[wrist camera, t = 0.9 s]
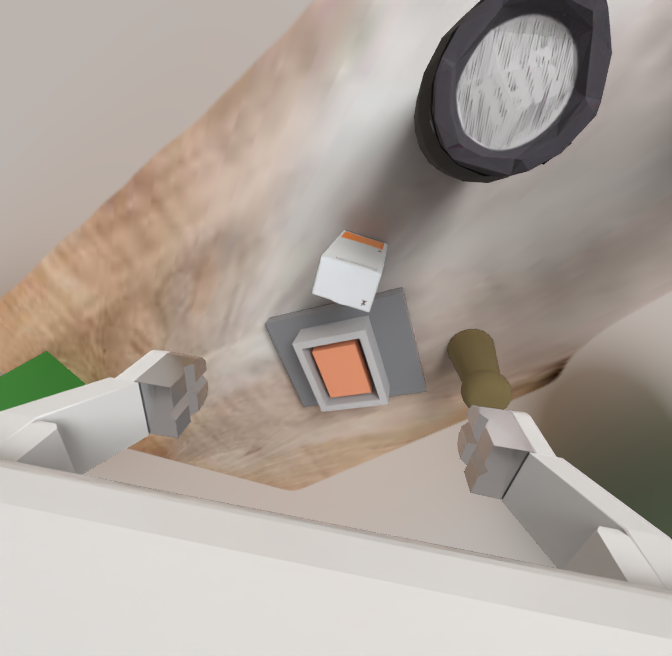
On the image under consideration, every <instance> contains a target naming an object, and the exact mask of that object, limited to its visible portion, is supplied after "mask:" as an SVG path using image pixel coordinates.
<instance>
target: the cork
mask: <svg viewBox="0 0 672 656" xmlns="http://www.w3.org/2000/svg"><path fill="white" fill-rule="evenodd" d="M448 354H449V357H450V359H451V361H452V363H453V365H454V367H455V369H456V371H457V373H458V375H459V377H460V379H461V381H462V386H461V395H462V398H463V401H464V402H465V404H466V405H467V406H468V407H469V408H470V407H471V406H472V405H477V406H483V407H489V408H495V409H501V410H504V409H505V408H506V407H507V406H508V405H509V403H510V401H511V398H512V390H511V386H510V384H509V382H508V381H507V380H506V378H505V377H504V376H503V375H501V374H500V371H499V366H498V361H497V356H496V352H495V347H494V343H493V339H492V338H491V337H490V335H489V334H487V333H485V332H484V331H481V330H477V329H468V330H464V331H461V332H459V333H458V334H456V335H455V336H454V337H453V338H452V339H451V340H450V342H449V344H448Z"/></svg>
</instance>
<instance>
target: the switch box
mask: <svg viewBox="0 0 672 656" xmlns="http://www.w3.org/2000/svg"><path fill="white" fill-rule="evenodd" d="M265 325H266V327H267V330H268V332H269V334H270V336H271V338H272V340H273V342H274V345H275V347H276V349H277V351H278V353H279V355H280V357H281V360H282V362H283V364H284V366H285V368H286V370H287V372H288V374H289V377H290V379H291V381H292V383H293V385H294V387H295V389H296V392H297V394H298V396H299V398H300V400H301V402H302V404H303V407H306V406H315V405H319V406H320V409H321V411H322V412H325V411H334V410H343V409H351V408H360V407H369V406H378V405H386V404H389V396H397V395H405V394H413V393H421V392H426V383H425V379H424V374H423V370H422V366H421V362H420V358H419V354H418V349H417V345H416V341H415V337H414V333H413V329H412V325H411V320H410V316H409V312H408V308H407V304H406V300H405V295H404V291H403V288H398V289H394V290H389V291H385V292H381V293H376V294H375V297H374V300H373V303H372V306H371V309H370V312H365V311H362V310H359V309H356V308H353V307H349V306H346V305H341V304H339V303H332V304H328V305H324V306H319V307H315V308H311V309H306V310H302V311H297V312H293V313H289V314H284V315H280V316H275V317H271V318H269V320H268V321H267V322H266V323H265ZM353 339H358V342H359V345H360V348H361V351H362V354H363V357H364V360H365V363H366V366H367V369H368V372H369V375H370V378H371V381H372V389H371V393H363V394H355V395H348V396H340V397H332V398H331V397H330V394H329V392H328V389H327V387H326V385H325V382H324V380H323V377H322V375H321V372H320V370H319V368H318V365H317V363H316V360H315V358H314V355H313V353H312V351H313V349H314V347H315V346H321V345H326V344H332V343H337V342H342V341H348V340H353Z"/></svg>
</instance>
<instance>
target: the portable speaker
mask: <svg viewBox="0 0 672 656" xmlns="http://www.w3.org/2000/svg"><path fill="white" fill-rule="evenodd" d="M611 55H612V49H611V36H610V24H609V12H608V5H607V1H606V0H480V1H479V2H478V3H477V4H476V5H475V6H474V7H473V8H472V9H471V10H470V11H469V12H468V13H466V14H465V15H464V16H463V17H462V18H461V19H460V20H459V21H458V22H457V23H456V24H455V25H454V26H453V27H452V28H451V29H450V30H449V31H448V32H447V33H446V34H445V35H444V37H443V38H442V39H441V41H440V43H439V45H438V47H437V49H436V51H435V53H434V54H433V56H432V58H431V60H430V62H429V64H428V66H427V68H426V70H425V72H424V75H423V78H422V82H421V86H420V89H419V93H418V97H417V101H416V108H415V115H414V119H415V132H416V136H417V139H418V143H419V146H420V149H421V150H422V152H423V153H424V155H425V157H426V158H427V160H428V161H429V163H431V164H432V165H433V166H435V167H436V168H437V169H439V170H440V171H442V172H443V173H445V174H447V175H449V176H452V177H454V178H457V179H459V180H462V181H467V182H483V183H489V182H493V181H496V180H500V179H503V178H507V177H509V176H511V175H515V174H519V173H523V172H526V171H529V170H531V169H533V168H535V167H537V166H538V165H540V164H543V165H544V164H545V163H546V162H548V161H549V160H550V159H552V158H553V157H555V156H557V155H559V154H561V153H562V152H563V150H564V149H565V148H566V147H567V146H569V145H570V144H571V142H572V141H573V140H574V139H575V137H576V136H577V135H578V134H579V133H580V132H581V131H582V130H583V129H584V128H585V127H586V126H587V125H588V123H589V122H590V121H591V120H592V119H593V118H594V117H595V116H596V114H597V111H598V108H599V105H600V103H601V99H602V95H603V90H604V86H605V82H606V77H607V73H608V68H609V64H610V59H611Z"/></svg>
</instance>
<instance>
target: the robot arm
mask: <svg viewBox="0 0 672 656" xmlns="http://www.w3.org/2000/svg"><path fill="white" fill-rule="evenodd" d="M205 371H206V362H205V360H204V359H203V358H201V357H196V356H190V355H185V354H180V353H175V352H169V351H164V350H158V349H155V350H151V351H150V352H149V353H147V354H146V355H145V356H143V357H142V358H141V359H139V360H138V361H137V362H136V363H134V364H133V365H132V366H130V367H129V368H128V369H126V370H125V371H124V372H123V373H121V374H120V375H119V376H117V377H116V378H106V379H103V380H100V381H97V382H93V383H90V384H87V385H84V386H81V387H77V388H74V389H71V390H68V391H65V392H61V393H58V394H55V395H52V396H48V397H45V398H42V399H39V400H36V401H32V402H29V403H26V404H23V405H19V406H16V407H13V408H10V409H7V410H3V411H0V656H672V540H671V538H669V537H668V536H667V535H665V534H664V533H662V532H661V531H660V530H659V529H657V528H656V527H655V526H653V525H652V524H650V523H649V522H648V521H646V520H645V519H644V518H642V517H641V516H640V515H638V514H637V513H636V512H634V511H633V510H632V509H630V508H629V507H628V506H626V505H625V504H623V503H622V502H621V501H619V500H618V499H617V498H615V497H614V496H613V495H611V494H610V493H608V492H607V491H606V490H605V489H603V488H602V487H600V486H599V485H598V484H596V483H595V482H594V481H592V480H591V479H590V478H588V477H587V476H586V475H584V474H583V473H582V472H580V471H579V470H578V469H576V468H575V467H574V466H572V465H571V464H570V463H568V462H567V461H565V460H564V459H563V458H558V457H556V456H555V454H554V452H553V451H552V449H551V448H550V446H549V445H548V443H547V441H546V440H545V438H544V437H543V435H542V434H541V432H540V431H539V429H538V427H537V426H536V424H535V423H534V421H533V420H532V418H531V416H530V415H528V414H527V413H525V412H518V411H511V410H501V409H495V408H489V407H483V406H477V405H472V406H471V407H470V408H469V410H468V412H467V418H468V421H469V422H468V423H466V424H465V425H463V426H462V427H461V430H460V432H459V436H458V452H459V455H460V459H461V460H462V461H463V462H464V463H465V464H466V465H467V467H466V469H465V471H464V473H465V476H466V479H467V483H468V486H469V489H470V492H471V493H474V494H478V495H483V496H488V497H492V498H497V499H502V502H503V503H504V504H505V505H506V506H507V508H508V509H509V510H510V511H511V513H512V514H513V515H514V516H515V517H516V519H517V520H518V521H519V522H520V523H521V525H522V526H523V527H524V528H525V530H526V531H527V532H528V533H529V534H530V535H531V537H532V538H533V539H534V540H535V542H536V543H537V544H538V545H539V546H540V547H541V549H542V550H543V551H544V552H545V554H546V555H547V556H548V557H549V558H550V560H551V561H552V562H553V563H554V564H555V565H556V567H557V568H554V567H549V566H544V565H539V564H534V563H529V562H524V561H518V560H514V559H508V558H503V557H498V556H493V555H488V554H483V553H478V552H473V551H468V550H463V549H457V548H453V547H447V546H442V545H437V544H432V543H427V542H422V541H417V540H411V539H407V538H401V537H397V536H391V535H386V534H381V533H376V532H371V531H366V530H361V529H356V528H350V527H346V526H340V525H335V524H330V523H325V522H320V521H315V520H310V519H304V518H300V517H295V516H290V515H284V514H279V513H274V512H269V511H264V510H259V509H254V508H249V507H244V506H239V505H233V504H229V503H224V502H218V501H213V500H208V499H203V498H198V497H193V496H188V495H182V494H178V493H172V492H168V491H162V490H157V489H152V488H147V487H142V486H137V485H132V484H127V483H122V482H117V481H112V480H107V479H101V478H96V477H91V476H86V475H82V474H84V473H85V472H87V471H89V470H91V469H92V468H94V467H96V466H97V465H99V464H101V463H103V462H104V461H106V460H108V459H109V458H111V457H113V456H114V455H116V454H118V453H120V452H121V451H123V450H125V449H126V448H128V447H130V446H131V445H133V444H135V443H137V442H138V441H140V440H142V439H143V438H145V437H147V436H148V435H149V434H155V435H161V436H168V437H174V438H179V436H180V435H181V434H182V432H183V431H184V430H185V428H186V427H187V426H188V424H189V423H190V422H191V420H190V415H191V414H194V413H196V412H198V411H199V410H200V408H201V407H202V406H203V404H204V402H205V399H206V397H207V391H208V382H207V380H206V379H205V378H204V376H203V375H202V374H203V373H204V372H205Z"/></svg>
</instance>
